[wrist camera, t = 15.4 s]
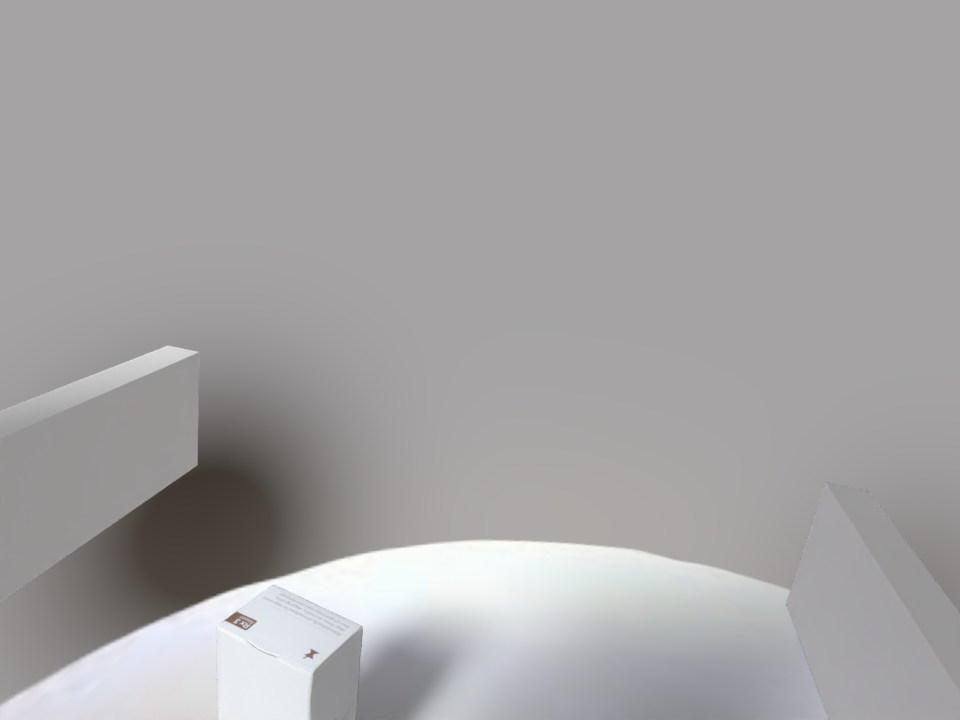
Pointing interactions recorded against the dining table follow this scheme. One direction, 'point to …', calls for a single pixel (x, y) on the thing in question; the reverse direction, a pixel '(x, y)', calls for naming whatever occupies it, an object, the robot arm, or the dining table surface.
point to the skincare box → (287, 661)
